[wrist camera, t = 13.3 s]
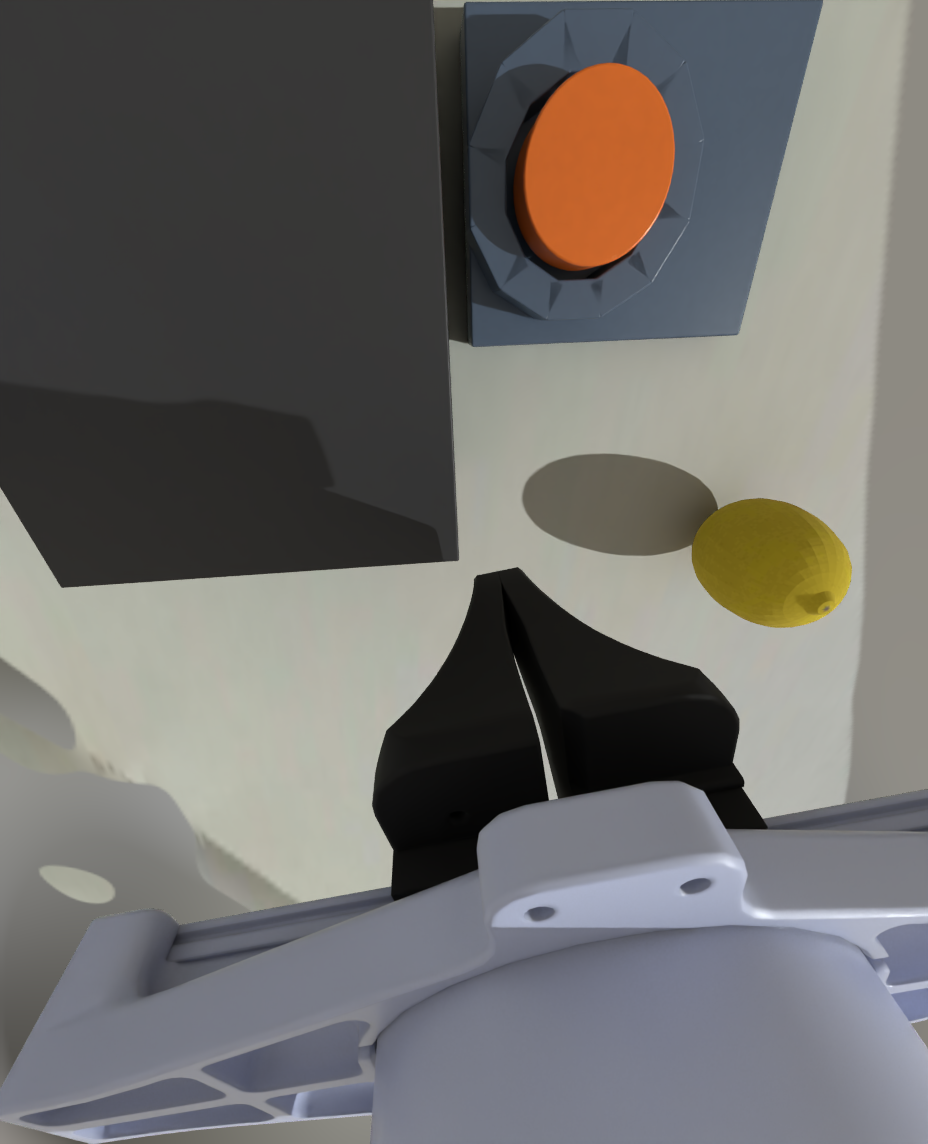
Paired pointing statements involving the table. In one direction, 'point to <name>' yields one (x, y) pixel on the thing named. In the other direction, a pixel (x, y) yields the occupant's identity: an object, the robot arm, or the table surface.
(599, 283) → the panel
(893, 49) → the table surface
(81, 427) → the charcoal grey box
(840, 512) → the table surface
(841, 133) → the table surface
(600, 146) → the button
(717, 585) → the lemon
